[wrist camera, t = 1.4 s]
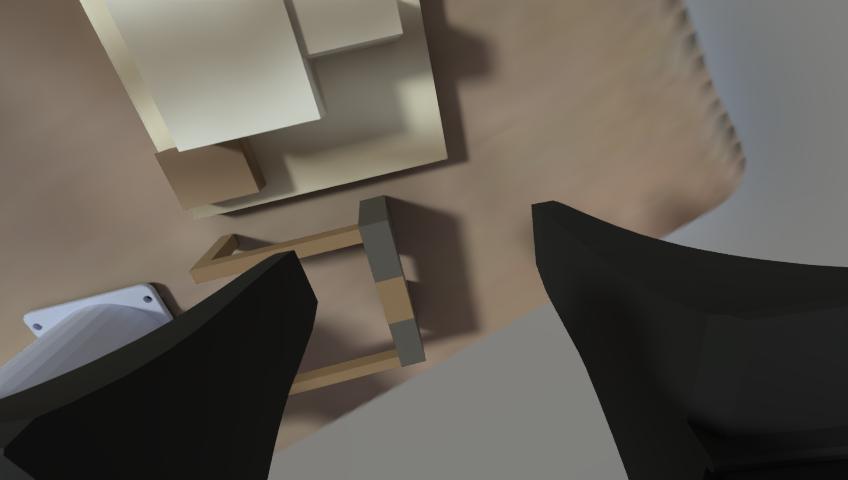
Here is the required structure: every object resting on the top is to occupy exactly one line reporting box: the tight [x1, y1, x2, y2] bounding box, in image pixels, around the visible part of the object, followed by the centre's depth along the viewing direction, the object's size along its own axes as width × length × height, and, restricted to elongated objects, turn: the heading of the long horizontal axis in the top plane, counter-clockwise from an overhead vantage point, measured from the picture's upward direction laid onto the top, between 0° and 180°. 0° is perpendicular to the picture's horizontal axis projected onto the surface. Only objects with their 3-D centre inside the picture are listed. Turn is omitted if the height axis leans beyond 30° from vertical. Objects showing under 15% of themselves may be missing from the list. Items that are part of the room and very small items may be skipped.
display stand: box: [80, 0, 448, 220], centre depth 17 cm, size 15×15×6 cm
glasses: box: [189, 195, 426, 396], centre depth 23 cm, size 10×11×4 cm
